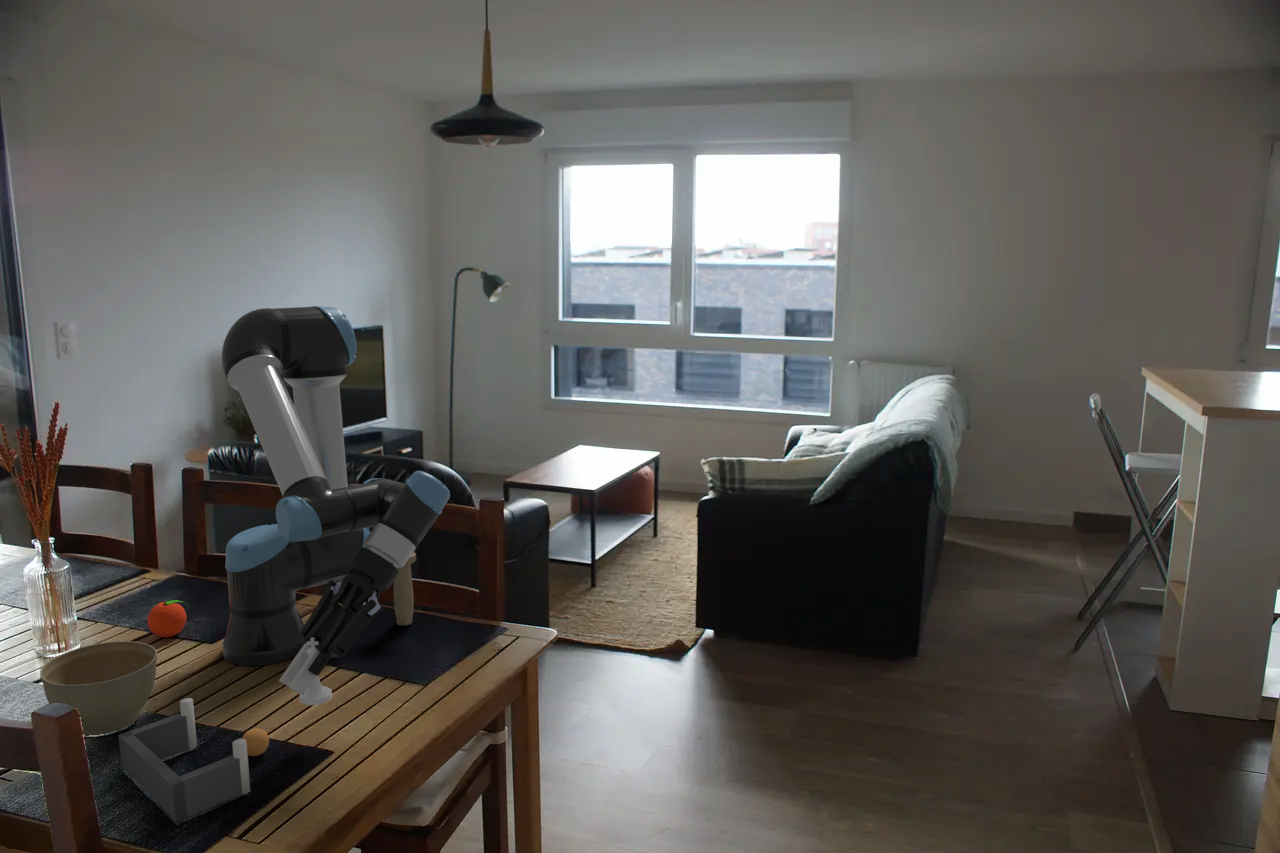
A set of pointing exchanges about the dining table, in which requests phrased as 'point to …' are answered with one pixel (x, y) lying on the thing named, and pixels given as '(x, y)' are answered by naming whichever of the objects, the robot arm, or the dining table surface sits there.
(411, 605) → the handle
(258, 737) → the ball
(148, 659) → the planter bowl
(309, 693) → the chess piece
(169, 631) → the clementine
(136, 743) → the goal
